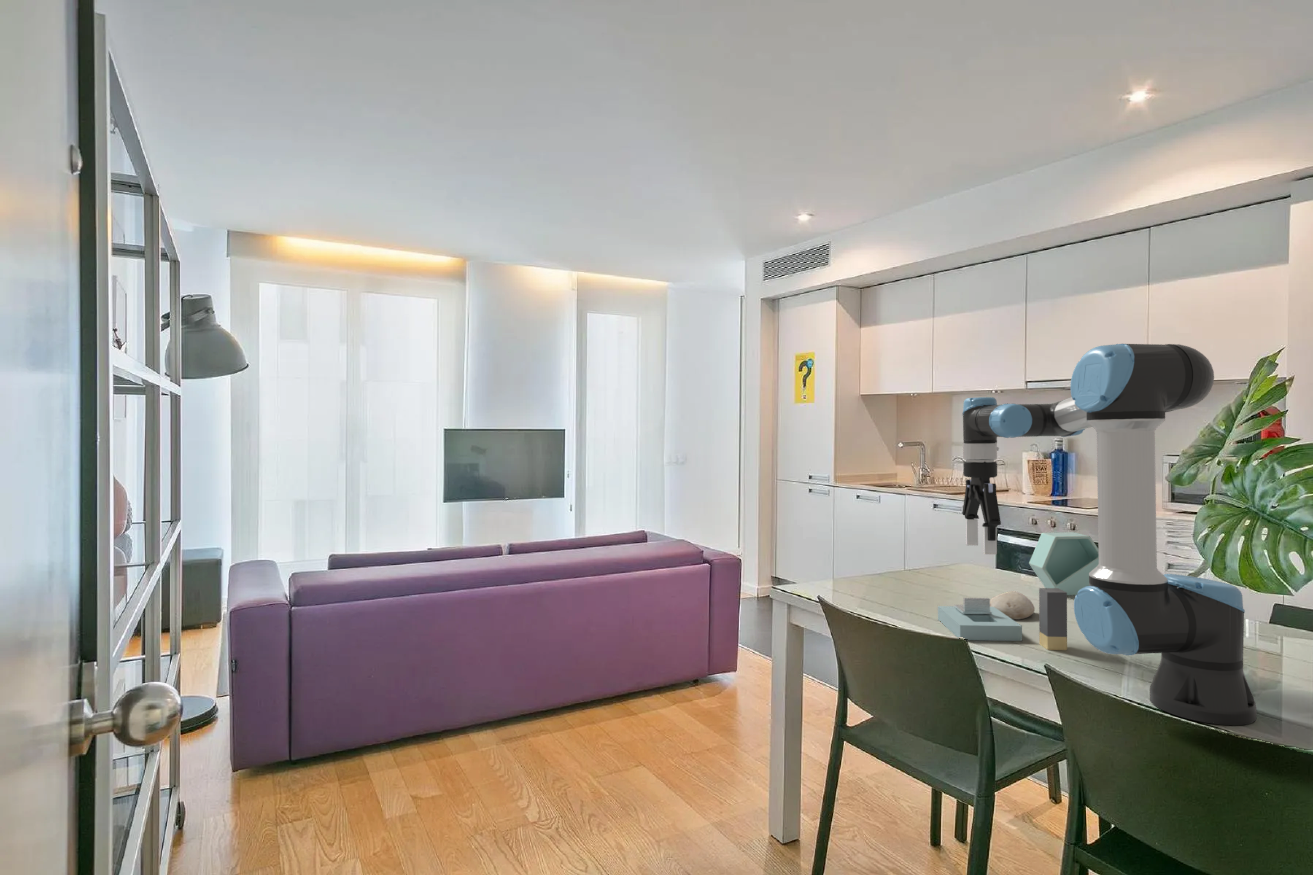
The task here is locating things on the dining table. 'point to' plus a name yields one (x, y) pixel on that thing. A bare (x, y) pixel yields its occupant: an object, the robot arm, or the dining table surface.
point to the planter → (1064, 560)
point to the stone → (1013, 605)
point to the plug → (1053, 618)
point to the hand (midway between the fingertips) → (980, 549)
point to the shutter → (974, 606)
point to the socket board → (980, 625)
